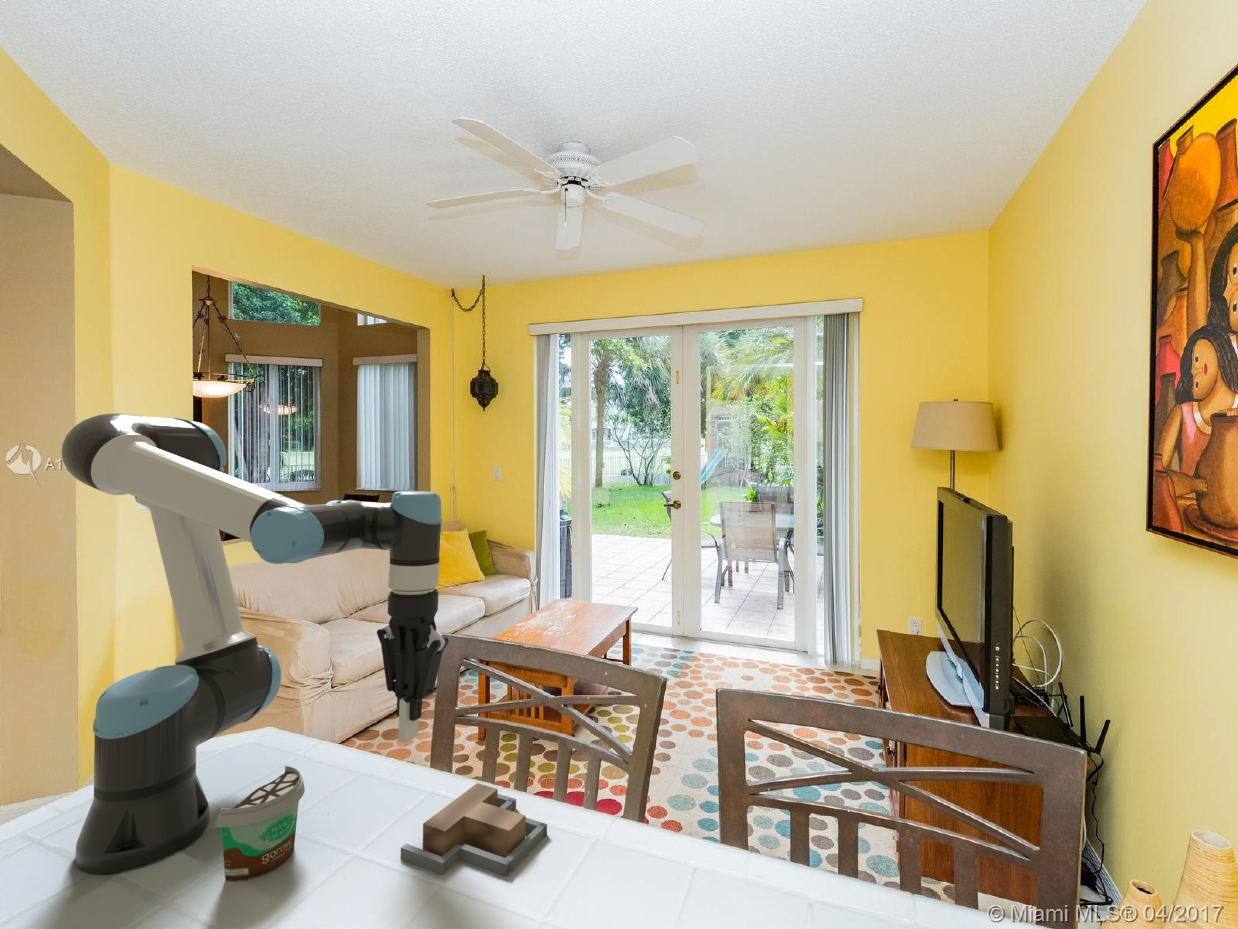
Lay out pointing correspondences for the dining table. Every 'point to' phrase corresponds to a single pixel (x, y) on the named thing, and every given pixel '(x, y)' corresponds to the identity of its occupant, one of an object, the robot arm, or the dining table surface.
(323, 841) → the dining table surface
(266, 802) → the food container
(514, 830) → the t block
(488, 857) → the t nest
